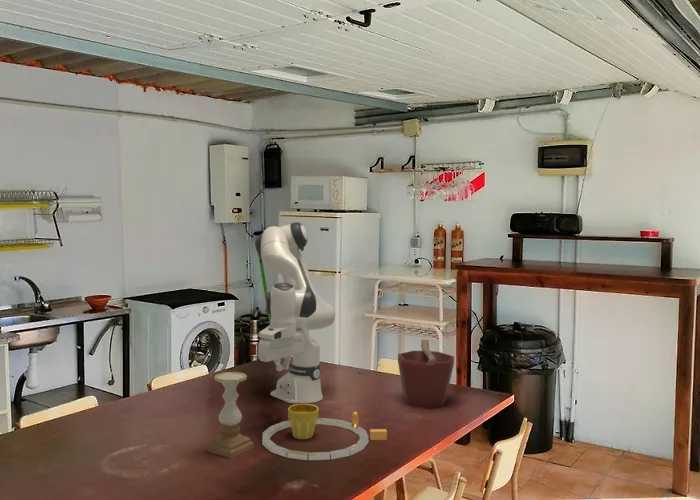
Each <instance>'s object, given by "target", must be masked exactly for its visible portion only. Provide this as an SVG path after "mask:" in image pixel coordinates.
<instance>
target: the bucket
mask: <svg viewBox="0 0 700 500" xmlns="http://www.w3.org/2000/svg"><path fill="white" fill-rule="evenodd" d="M420 347H421V350H411V351H406V352H401V353H398V354H397V364H398V369H399V371H398V372H399V377H400V382H401V388H402V394H403V399H404V401H405V403H406V404H407V406H411V407H416V408H422V409H432V408H441V407H443V406H444V405H445V404H446V400H447V396H448V393H449V388H450V382H451V378H452V373H453V369H454V364H455V356H454V355H450V354H447V353H444V352H441V351H433V350H432V351H431V349H430V343H429V339H421V342H420Z"/></svg>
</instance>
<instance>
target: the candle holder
mask: <svg viewBox="0 0 700 500" xmlns="http://www.w3.org/2000/svg"><path fill="white" fill-rule="evenodd" d="M213 378H214V379H213V380H215V381H216V382H218V383H220V384H221V385H222V386H223V387H224V392H223V394H222V395H221V397H222V398H223V401H224V402H225V403H224V406H223V408H222V409H221V411H220V413H219V415H218V421H219V422H220V424H222V425H221V426H220V431H221V434H219V435H218V436H217V437H215V438H212V439H211V440H209V444H208V443H207V444H206V446H205V451H206V452H208V453H212V454H214V455H219V456H221V457H225V458H229V459H233V458H235V457H237V456H239V455H242V454H244V453H247V452H248V451H250V450H253V449H254V448H255V442H253V441H252V440H251V437H248V436H244V435H242V434H241V433H240V431H241V427H240V425H239V423H241V421H242V418H243V415H242V412H241V410H240V408H239V407H238V404H237V400H238V398H239V397H240V394H239V393H238V392H237V388H238V386H239V384H240V383H241V382H245V381H246V380H247V379H248V375H247V374H246V373H244V372H241V371H240V372H239V371H228V372H227V371H226V372H225V371H224V372H220V373H217V374H215V375H214V377H213Z"/></svg>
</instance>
